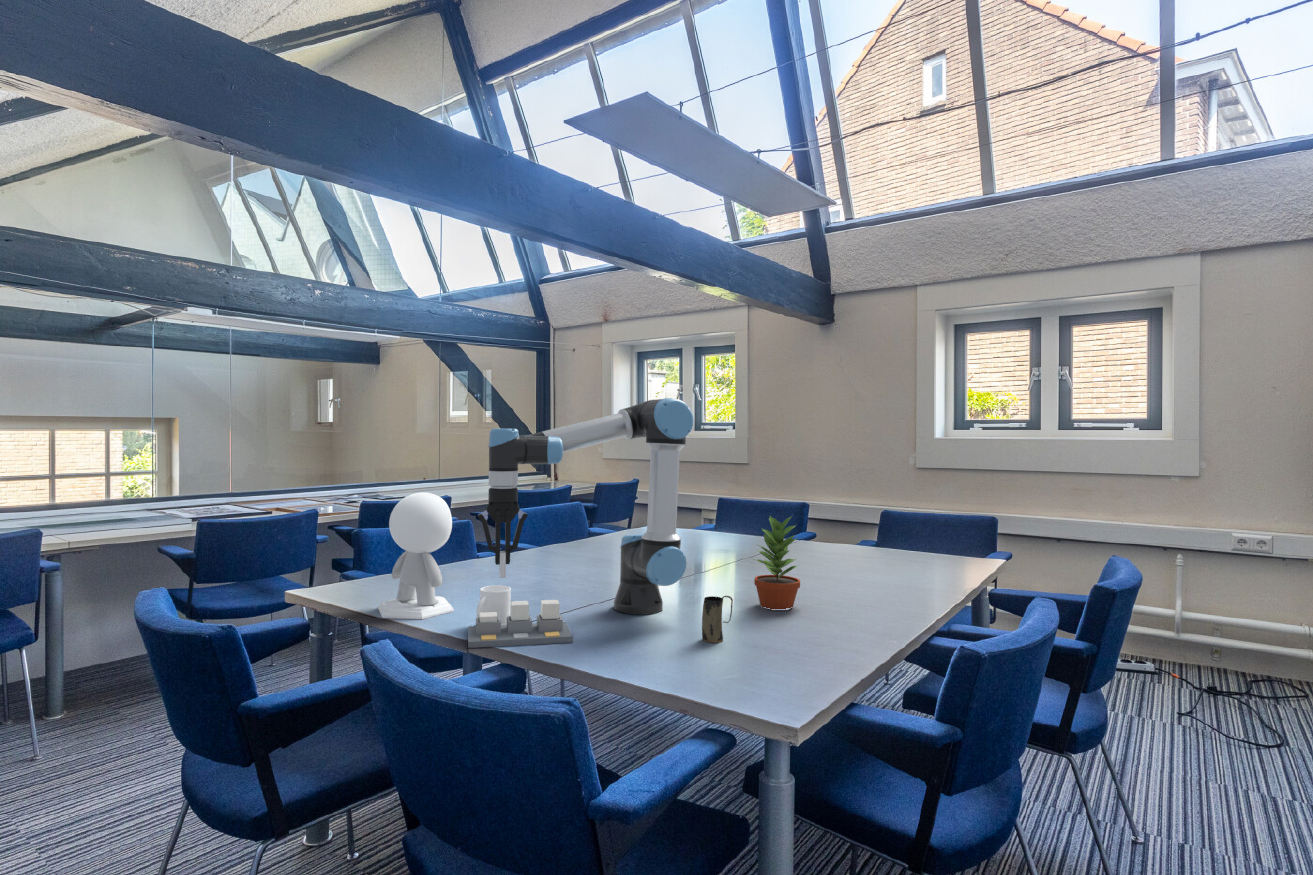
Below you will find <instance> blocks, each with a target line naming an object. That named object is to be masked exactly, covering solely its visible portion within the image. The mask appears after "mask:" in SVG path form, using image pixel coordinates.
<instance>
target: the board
mask: <svg viewBox="0 0 1313 875" xmlns="http://www.w3.org/2000/svg"><path fill="white" fill-rule="evenodd" d="M567 624H568V623H566V622H565V621H564V619H563V617H562V615H561V613H559V619H542V617H541V614H536V623H535V622H534V623H533V619H532V616H531V614H529V620H516V621H511V617H510V616H507V625H501V620H500V616H497V622H487V623H479V617H477V616H476V617H475V625H473V626H472V625H471V626H468V627H467V649H473V648H474V649H475V648H477V649H478V648H490V647H491V648H492V647H495V648H496V647H509V646H510V647H511V646H513V647H514V646H529V645H530V646H531V645H546V644H548V645H549V644H567V643H570V644H571V643H573V642H574V641H573V640H574V639H573V638H574V637H573V634H572V632H571V630H570V628H569V626H568V625H567Z"/></svg>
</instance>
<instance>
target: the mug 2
mask: <svg viewBox="0 0 1313 875" xmlns="http://www.w3.org/2000/svg"><path fill="white" fill-rule="evenodd" d="M724 598H729V599H730V601H731V602H730V614H729V620H728V621H726V620H725V621H724V620H723V603H724ZM733 600H734V599H733V598H732V596H730V595H723V596H722V597H720V596H705V597H704V598H703V605H702V614H701V615H702V617H701V635H702V636H701V637H702V639H701V640H702V641H703V642H704V641H705V642H704V643H707V642H709V643H708V644H720V643H719V642H721V643H723V642H724V636H723V623H725V624H729V622H731V619H732V614H733V603H734V601H733ZM722 641H723V642H722Z"/></svg>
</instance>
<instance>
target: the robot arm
mask: <svg viewBox="0 0 1313 875" xmlns="http://www.w3.org/2000/svg"><path fill="white" fill-rule="evenodd" d="M693 427H694V415H693V412H692V410H691V408H690V407H689V405H688V404H687V403H686V402H684V401H683V400H681V399H677V398H672V397H669V398H668V397H667V398H666V397H665V398H658V399H649V400H645V401H643V402H640V403H637V404H634V405H631V406H629V407H625V408H621V409H619V410H618V412H617V413H613V414H610V415H607V416H601V417H597V418H592V419H589V420H585V421H582V422H581V421H580V422H576V423H573V424H568V425H564V426H559V427H556V428H552V429H547V430H543V431H540V432H536V433H535V432H534V433H531V434H523V435H522V434H521V435H520V434H519V429H517V428H492V429H491V430H490V431H489V437H488V438H489V439H488V486H489V487H490V488H488V501H487V502H488V503H487V506H486V508H485V510H484V511H482V512H479V513H478V514H477V517H478V519H479V520H480V523H482V528H483V532H484V537H485V540H486V545H487V549H488V550H489V551H492V552H494V564H495V566H496V565H499V569H498V570H499V574H498V577H499V579H505V578H506V573H507V571H506V570H507V568H506V567H507V565H510V563H511V552H512V551H515V550H517V549H518V546H519V542H520V538H521V534H522V531H523V526H524V522H525V521H526V520H527V518H528V516H529V515H528V513H527V512H525V511H523V510H522V509H520V505H519V504H518V503H519V502H518V500H519V497H518V496H519V495H518V493H519V492H518V491H519V489H518V487H517V486H518V485H519V465H553V464H554V465H555V464H556V465H557V464H559V463H561V461H562V460H563V456H564V453H568V452H571V451H577V450H580V449H583V448H587V447H592V446H595V445H600V444H603V443H607V442H612V441H615V440H619V439H625V440H627V441H628V440H629V441H630V440H632V439H640V438H641V439H642V438H646V439H645V445H646V446H647V447H648V448H649V450H650V457H649V458H650V460H649V479H648V480H649V481H648V498H647V499H648V500H647V501H648V502H647V518H646V519H647V522H646V531H645V532H644V533H643V534H627V535H626V534H625V535H623V536H622V537H621V543H620V547H619V548H620V576H619V577H620V579H619V580H620V581H619V585H618V589H617V592H616V593H615V598H614V600H613V609H614V610H615V611H617V612H620V613H622V614H628V615H629V614H630V615H648V614H649V615H650V614H656V613H660V612H661V611H663V608H664V606H663V604H664V602H663V599H662V595H661V592H660V588H659V586H662V587H669V586H673V585H674V584H676V583H677V582H679V580H681V578H682V577H683V576H684V574H685V572H686V569H687V557H686V556H685V554H684V552H683V551H682V549H681V544H682V542H681V541H682V538H681V537H680V536H679V534H678V533H677V518H678V498H679V495H678V493H679V476H680V474H679V473H680V456H681V451H682V450H683V449H684V448H685V447H686V443H687V442H686V440H687V436H688V435H689V434H690V433H691V432H692V430H693ZM488 515H489V517H490V518H491V519H492V520H493V522H495V523H494V524H495V528H494V529H495V534H494V535H495V536H494V538H495V540H494V544H493V541H492V536H491V532H490V528H489V524H488V519H489V517H488ZM516 516H517V518H518V521H517V526H516V529H515V531H514V532H515V533H514V536H513V541H512V544H511V527H512V526H511V525H512V524H511V522H512V521H513V520H514V518H516ZM501 523H504V524H505V525H504V528H505V532H504V535H505V536H504V537H505V538H504V539H505V540H504V542H505V543H504V547H505V548H504V550H501V527H502V526H501V525H502V524H501Z"/></svg>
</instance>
